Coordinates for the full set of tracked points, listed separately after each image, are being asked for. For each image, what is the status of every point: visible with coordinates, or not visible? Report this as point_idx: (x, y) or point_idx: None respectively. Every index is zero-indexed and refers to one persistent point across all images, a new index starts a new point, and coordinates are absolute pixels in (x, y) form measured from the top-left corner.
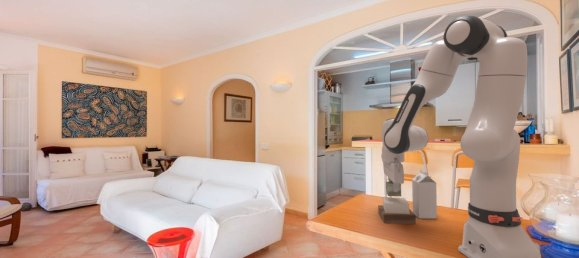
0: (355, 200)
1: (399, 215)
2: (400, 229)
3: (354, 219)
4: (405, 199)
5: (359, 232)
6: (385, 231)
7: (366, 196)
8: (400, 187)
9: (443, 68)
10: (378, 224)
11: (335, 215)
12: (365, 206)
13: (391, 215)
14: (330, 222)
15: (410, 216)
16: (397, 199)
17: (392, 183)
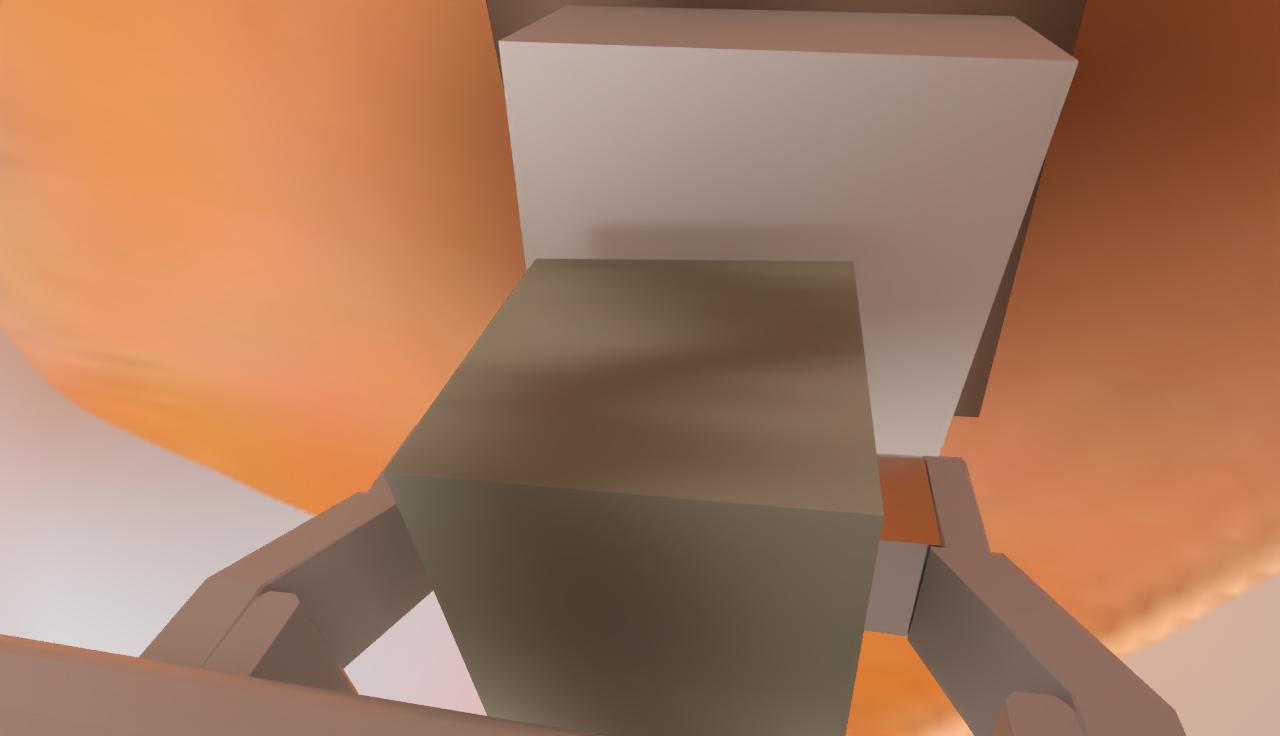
0: (250, 463)
1: (1029, 209)
2: (1233, 199)
3: None
4: (635, 56)
5: (1191, 590)
6: (1244, 386)
7: (39, 344)
8: (871, 441)
9: None
10: (993, 407)
11: None
12: (405, 415)
13: (997, 320)
14: (904, 701)
15: (1076, 2)
16: (661, 239)
17: (739, 683)
